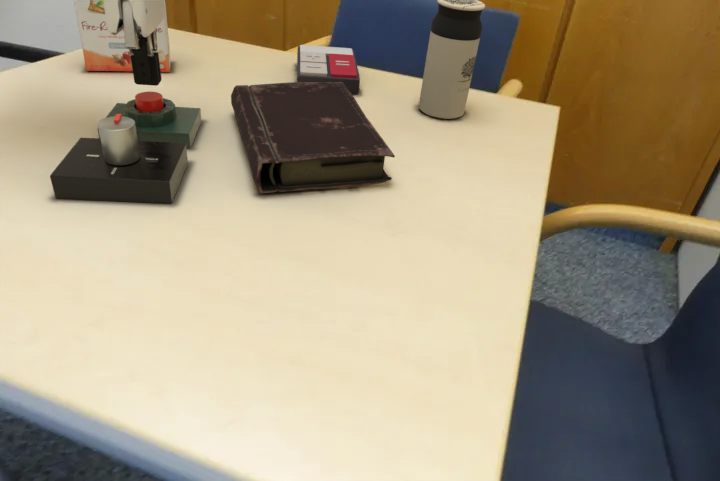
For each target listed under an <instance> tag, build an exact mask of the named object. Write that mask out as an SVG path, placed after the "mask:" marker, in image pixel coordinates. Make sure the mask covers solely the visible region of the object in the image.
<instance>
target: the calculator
mask: <svg viewBox="0 0 720 481" xmlns="http://www.w3.org/2000/svg"><path fill="white" fill-rule="evenodd" d="M358 68H359V67H358V63H357V59H356V53H355V50H354V49H353V48H352V47H351V48H350V47H336V46H326V45H325V46H323V45H310V44H308V45H307V44H300V45H298V46H297V56H296V82H343V84H344V85H345V86H346V87H347V89H348V90H349V91H350V93H351V94H352V95H353V96H358V95H359V93H360V82H361V79H360V74H359V69H358Z"/></svg>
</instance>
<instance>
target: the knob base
mask: <svg viewBox="0 0 720 481" xmlns="http://www.w3.org/2000/svg"><path fill="white" fill-rule="evenodd" d="M138 145H139V152H140V159H139V160H138V161H136V162H135V163H132V164H129V165H121V166H119V165H111V164H109V163H107V162H106V161H105V160H104V155H103V149H102V144H101V139H99V137H96V138H95V137H79V139H78V140H77V141H76V143H75V144H74V145H73V146H72V148H70V150H69V151H68V152H67V154H66V155H65V156H64V158H63V159H62V160H61V161H60V163H58V165H57V166H56V167H55V168H54V169H53V171H52V172H51V174H50V175H49V178H50V182H51V186H52V190H53V193H54V198H55V199H56V200H57V199H59V200H81V201H82V200H83V201H101V202H102V201H103V202H104V201H106V202H124V203H125V202H127V203H147V204H149V203H151V204H169V205H170V204H171V205H172V204H173V201H174V199H175V197H176V194H177V192H178V189H179V187H180V184H181V182H182V180H183V177H184V175H185V172H186V170H187V167H188V164H189V161H188V151H187V149H188V148H186V143H170V142H152V141H138Z"/></svg>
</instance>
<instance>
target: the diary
mask: <svg viewBox="0 0 720 481" xmlns="http://www.w3.org/2000/svg"><path fill="white" fill-rule="evenodd" d="M230 102H231V106H232V109H233V112H234V115H235V118H236V122H237V125H238V130H239V133H240V137H241V140H242V145H243V146H244V149H245V153H246V155H247V158H248V162H249V166H250V170H251V171H250V172H251V174H252V179H253V181H254V184H255V185H256V187H257V190H258V191H259V193H260V194H269V193H277V192H279V193H283V192H284V193H285V192H296V191H309V190H311V191H312V190H323V189H337V188H351V187H360V186H367V185H368V186H369V185H378V184H384V183H386V182H389V181H392V177H391V176H389V175H388V173H387V172H386V171H385V170H384V167H385V159H386V157H389V158H395V156H396V155H395V154H394V153H393V151H392V149H391V148H390V147H389V146H388V144H387V143H386V142H385V140H384V139H383V138H382V136H381V135H380V133H379V132H378V131H377V130H376V128H375V127H374V125H373V124H372V123H371V121H370V120H369V118H367V116H366V114H365V113H364V111H363V109H362V108H361V106H360V105H359V103H358V101H357V100H356V98H355V96H354V95H352V94H351V93H350V91H349V90H348V89H347V87H346V86H345V85H344V84H343V82H297V81H295V82H291V81H290V82H277V83H276V82H275V83H261V84H250V85H248V84H246V85H245V84H241V85H239V84H238V85H235V86H233V88H232V92H231V94H230Z"/></svg>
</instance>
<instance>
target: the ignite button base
mask: <svg viewBox="0 0 720 481" xmlns="http://www.w3.org/2000/svg"><path fill="white" fill-rule="evenodd" d="M163 104H164V109H161V110H159V111H153V112H146V111H140V110H137V107H136V101H135V98H134V99H131V100H129V101H127V102H126V103H125V102H116V103H115V105H114V106H113V108H112V109H111V110H110V112H109V113H108V115H106V117H105V118H108V117H114V116H116V114H121V116H124V117H129V118H131V119H133V120H134V121H135V125H136V132H137V138H138V141H152V142H170V143H186V149H191V147H193V146H192V145H193V143H194V140H195V138H196V136H197V133H198V131H199V129H200V126H201V124H202V113H201V112H202V111H201V110H202V109H201V108H200V107H189V106H188V107H186V106H176V104H175V103H174V102H173V101H172V100H171V99H168V98H165V97H163ZM97 133H98V138H99V139H100V134H99V129H98V128H97Z"/></svg>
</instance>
